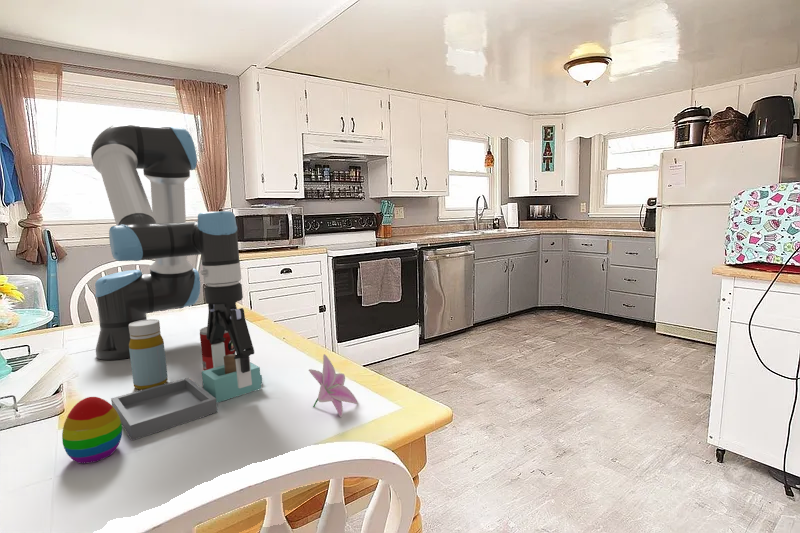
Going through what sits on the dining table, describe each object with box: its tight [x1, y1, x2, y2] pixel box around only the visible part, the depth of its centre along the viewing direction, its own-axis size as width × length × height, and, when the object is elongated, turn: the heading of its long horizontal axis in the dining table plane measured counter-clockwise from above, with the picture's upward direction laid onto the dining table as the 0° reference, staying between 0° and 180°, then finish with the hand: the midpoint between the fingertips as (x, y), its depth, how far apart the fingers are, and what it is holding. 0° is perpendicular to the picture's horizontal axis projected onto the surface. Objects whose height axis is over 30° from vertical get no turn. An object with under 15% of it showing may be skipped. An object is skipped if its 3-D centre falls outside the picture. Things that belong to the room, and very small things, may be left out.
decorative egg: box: [61, 396, 123, 464], centre depth 74 cm, size 8×8×10 cm
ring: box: [201, 361, 263, 404], centre depth 100 cm, size 8×12×5 cm, turn 133°
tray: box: [110, 377, 218, 441], centre depth 90 cm, size 16×15×3 cm
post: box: [224, 354, 236, 374], centre depth 99 cm, size 2×2×8 cm
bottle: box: [129, 318, 169, 391], centre depth 104 cm, size 7×7×15 cm
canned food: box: [199, 326, 237, 371], centre depth 112 cm, size 8×8×11 cm
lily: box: [308, 353, 359, 418], centre depth 89 cm, size 12×12×10 cm
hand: (232, 378), depth 99 cm, fingers open, 13 cm apart
